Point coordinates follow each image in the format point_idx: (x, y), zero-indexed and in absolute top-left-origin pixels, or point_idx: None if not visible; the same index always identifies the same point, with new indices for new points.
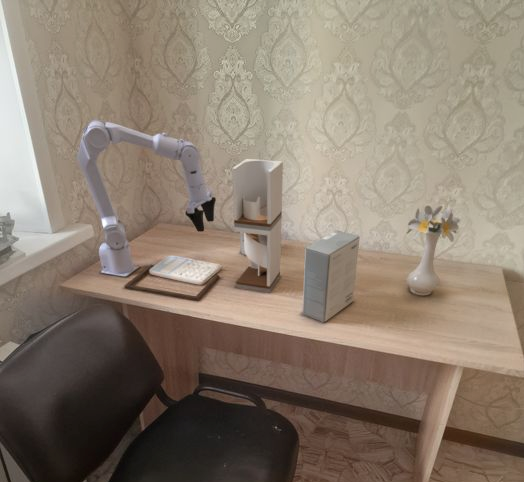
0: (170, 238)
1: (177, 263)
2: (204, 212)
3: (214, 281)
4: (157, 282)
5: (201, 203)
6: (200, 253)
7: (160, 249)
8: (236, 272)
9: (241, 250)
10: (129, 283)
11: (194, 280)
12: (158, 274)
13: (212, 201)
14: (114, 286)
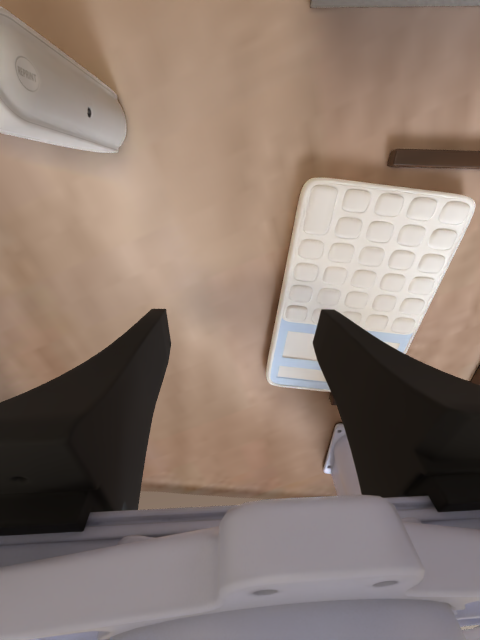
0: None
1: None
2: (154, 402)
3: (450, 150)
4: (429, 349)
5: (477, 544)
6: (190, 313)
7: (209, 421)
8: (322, 87)
9: (114, 146)
10: None
11: (463, 233)
12: None
13: (85, 429)
14: None
